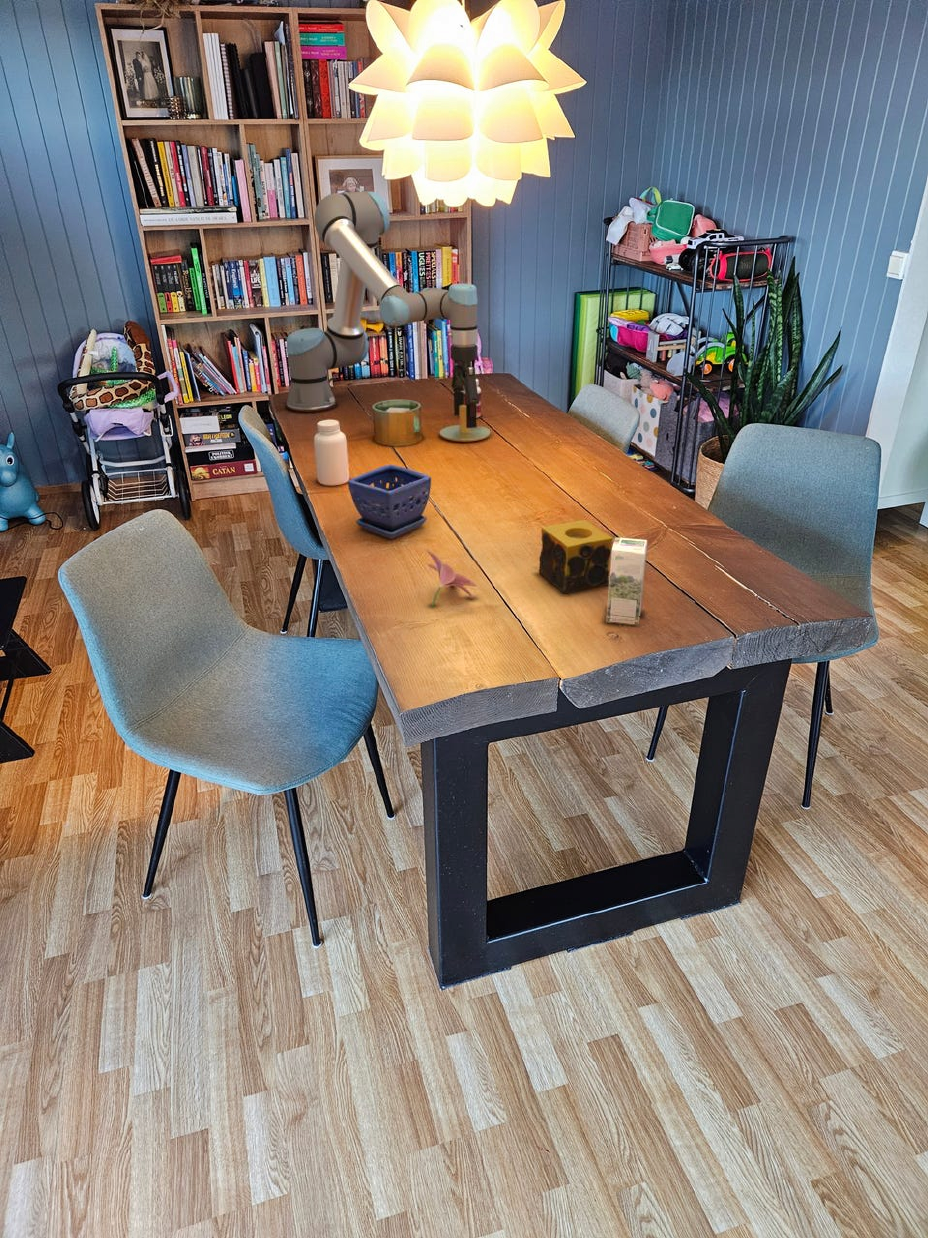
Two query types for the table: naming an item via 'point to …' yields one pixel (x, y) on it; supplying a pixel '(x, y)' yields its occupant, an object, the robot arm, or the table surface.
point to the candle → (575, 556)
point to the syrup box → (626, 580)
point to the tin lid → (464, 430)
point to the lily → (449, 576)
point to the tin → (397, 423)
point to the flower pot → (390, 500)
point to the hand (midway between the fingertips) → (465, 420)
